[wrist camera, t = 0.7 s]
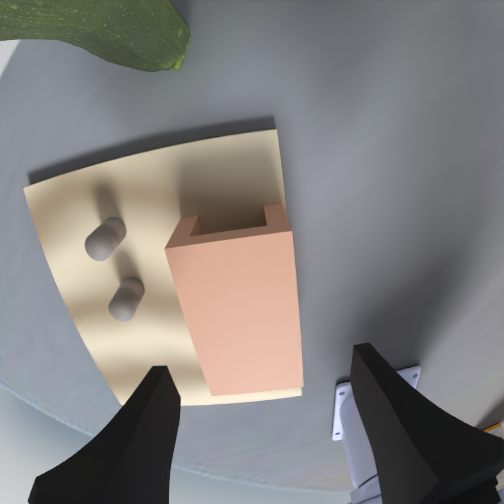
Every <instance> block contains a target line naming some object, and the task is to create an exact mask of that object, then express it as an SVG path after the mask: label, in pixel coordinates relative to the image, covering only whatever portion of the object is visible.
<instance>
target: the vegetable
mask: <svg viewBox="0 0 504 504" xmlns="http://www.w3.org/2000/svg"><path fill="white" fill-rule="evenodd" d="M189 38H190V30H189V27H188V25H187V24H186V22H185V21H184V20H183V19H182V17H181V16H180V14H179V13H178V11H177V10H176V9H175V7H174V6H173V4H172V3H171V1H170V0H0V41H4V40H17V39H45V40H59V41H62V42H66V43H69V44H72V45H75V46H78V47H81V48H83V49H85V50H87V51H88V52H90V53H92V54H94V55H96V56H98V57H100V58H102V59H104V60H106V61H109V62H112V63H115V64H118V65H122V66H126V67H130V68H133V69H137V70H141V71H147V72H155V71H159V70H170V69H174V70H176V71H178V70H179V69H180V68H181V66H182V61H183V59H184V58H185V51H186V49H187V47H188V46H189Z"/></svg>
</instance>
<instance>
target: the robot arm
mask: <svg viewBox="0 0 504 504" xmlns="http://www.w3.org/2000/svg"><path fill="white" fill-rule="evenodd" d="M420 373H421V368H420V367H419V366H415V367H411V368H407V369H403V370H400V371H395V370H394V369H393V368H392V367H391V365H390V364H389V363H388V362H387V361H386V360H385V359H384V358H383V357H382V356H381V355H380V354H379V353H378V352H377V350H376V349H375V348H374V347H373V346H372V345H371V344H370V343H363V344H358V345H354V347H353V357H352V366H351V375H350V382H347V383H342V384H339V385H338V386H337V387H336V393H335V407H334V418H333V429H332V440H341V439H342V441H343V445H344V450H345V454H346V458H347V463H348V467H349V471H350V476H351V480H352V483H353V485H354V487H355V488H356V490H354V491H352V492H350V495H351V500H352V502H349V503H348V504H504V487H503V488H502V489H500V490H499V491H497V489H496V487H495V486H497V485H498V480H497V478H496V476H497V475H498V474H499V473H500V472H501V471H502V470H503V469H504V439H503V438H501V437H498V436H496V435H493V434H490V433H487V432H484V431H482V430H479V429H477V428H475V427H473V426H471V425H469V424H466V423H465V422H463V421H461V420H459V419H457V418H456V417H454V416H452V415H450V414H449V413H447V412H445V411H444V410H442V409H441V408H439V407H438V406H436V405H435V404H434V403H432V402H431V401H430V400H428V399H427V398H426V397H424V396H423V395H422V394H421V393H419V392H418V391H417V390H416V389H415V388H416V385H417V382H418V379H419V376H420ZM180 408H181V397H180V394H179V392H178V390H177V388H176V385H175V383H174V381H173V379H172V376H171V374H170V371H169V369H168V367H167V365H164V366H152V367H151V369H150V370H149V371H148V373H147V374H146V375H145V377H144V378H143V380H142V381H141V382H140V384H139V385H138V387H137V388H136V389H135V391H134V392H133V393H132V395H131V396H130V397H129V399H128V400H127V401H126V403H125V404H124V405H123V407H122V408H121V409H120V410H119V411H118V413H117V414H116V415H115V416H114V417H113V419H112V420H111V421H110V422H109V423H108V424H107V425H106V426H105V427H104V428H103V430H102V431H101V432H100V433H99V434H98V435H97V436H95V437H94V438H93V439H92V440H91V441H90V442H89V443H88V444H86V445H85V446H84V447H83V448H82V449H80V450H79V451H78V452H77V453H76V454H74V455H73V456H71V457H70V458H68V459H67V460H66V461H64V462H63V463H61V464H59V465H58V466H56V467H54V468H53V469H51V470H49V471H47V472H45V473H43V474H41V475H40V476H37V477H36V479H35V482H34V484H33V487H32V490H31V493H30V496H29V499H28V503H29V504H169V481H170V469H171V463H172V458H173V452H174V447H175V442H176V437H177V432H178V426H179V421H180Z"/></svg>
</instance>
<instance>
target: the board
mask: <svg viewBox="0 0 504 504" xmlns="http://www.w3.org/2000/svg"><path fill="white" fill-rule="evenodd" d="M23 189H24V192H25V196H26V200H27V203H28V206H29V210H30V213H31V216H32V219H33V222H34V226H35V229H36V231H37V234H38V237H39V240H40V243H41V246H42V249H43V251H44V254H45V257H46V259H47V262H48V264H49V267H50V269H51V272H52V274H53V277H54V279H55V282H56V284H57V286H58V289H59V291H60V293H61V295H62V298H63V300H64V302H65V304H66V306H67V309H68V311H69V313H70V315H71V317H72V319H73V321H74V323H75V325H76V327H77V329H78V331H79V333H80V335H81V337H82V339H83V341H84V343H85V345H86V346H87V348H88V350H89V352H90V354H91V356H92V357H93V359H94V361H95V363H96V364H97V366H98V368H99V370H100V371H101V373H102V375H103V376H104V378H105V380H106V381H107V383H108V385H109V386H110V388H111V390H112V391H113V393H114V394H115V396H116V397H117V399H118V401H119V402H120V404H121V405H124V404H125V403H126V401H127V400H128V399H129V397H130V396H131V395H132V393H133V392H134V391H135V389H136V388H137V387H138V385H139V384H140V382H141V381H142V380H143V378H144V377H145V375H146V374H147V373H148V371H149V370H150V369H151V367H152V366H164V365H167V367H168V369H169V371H170V374H171V376H172V379H173V381H174V383H175V385H176V388H177V390H178V392H179V394H180V397H181V406H184V405H211V404H227V403H240V402H251V401H261V400H270V399H279V398H287V397H294V396H301V395H302V394H301V387H297V388H290V389H282V390H274V391H266V392H256V393H246V394H235V395H221V396H211V393H210V390H209V388H208V385H207V382H206V380H205V377H204V374H203V371H202V368H201V366H200V363H199V360H198V357H197V354H196V351H195V348H194V345H193V342H192V339H191V336H190V333H189V330H188V327H187V324H186V321H185V318H184V315H183V311H182V308H181V305H180V302H179V298H178V295H177V292H176V288H175V285H174V282H173V278H172V275H171V271H170V268H169V264H168V261H167V257H166V253H165V250H164V248H165V246H166V245H167V243H168V241H169V239H170V237H171V235H172V233H173V232H174V230H175V228H176V226H177V224H178V222H179V221H180V219H181V218H186V217H192V216H198V217H199V222H200V227H201V231H202V235H205V234H211V233H218V232H225V231H232V230H240V229H247V228H254V227H261V226H266V220H265V212H264V206H268V205H275V204H282V205H283V207H284V210H285V213H286V216H287V210H286V201H285V192H284V183H283V175H282V167H281V158H280V150H279V142H278V135H277V129H270V130H262V131H254V132H247V133H240V134H233V135H227V136H220V137H214V138H209V139H203V140H197V141H192V142H187V143H182V144H177V145H172V146H167V147H162V148H158V149H153V150H149V151H145V152H140V153H136V154H132V155H128V156H124V157H120V158H116V159H112V160H109V161H105V162H101V163H98V164H94V165H91V166H87V167H84V168H80V169H77V170H74V171H70V172H67V173H64V174H61V175H58V176H55V177H52V178H49V179H46V180H43V181H40V182H37V183H34V184H31V185H29V186H27V187H25V188H23Z"/></svg>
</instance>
